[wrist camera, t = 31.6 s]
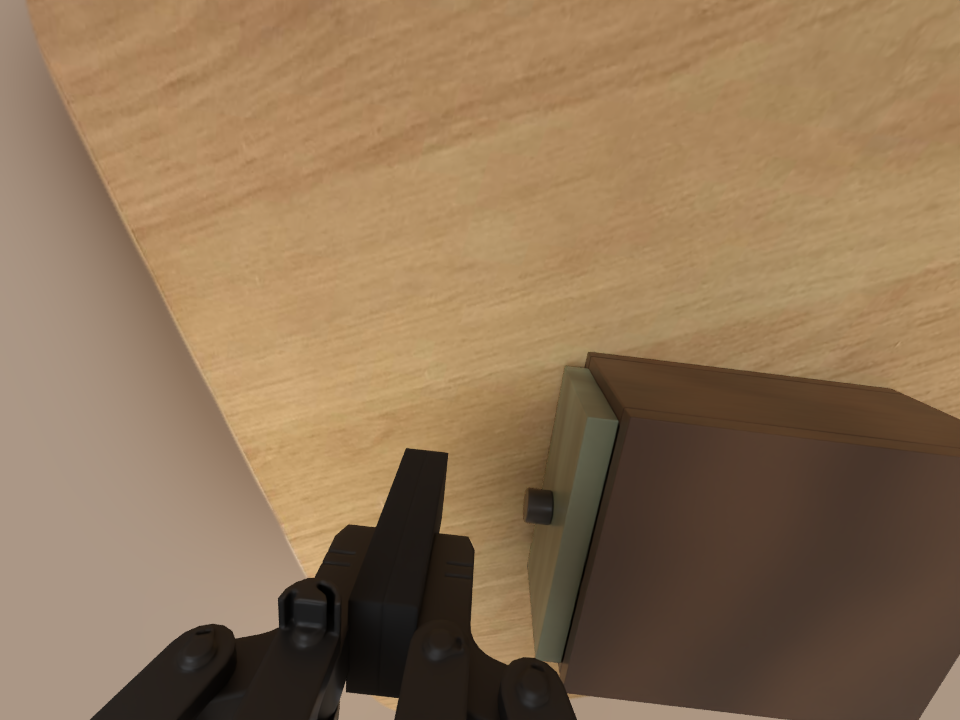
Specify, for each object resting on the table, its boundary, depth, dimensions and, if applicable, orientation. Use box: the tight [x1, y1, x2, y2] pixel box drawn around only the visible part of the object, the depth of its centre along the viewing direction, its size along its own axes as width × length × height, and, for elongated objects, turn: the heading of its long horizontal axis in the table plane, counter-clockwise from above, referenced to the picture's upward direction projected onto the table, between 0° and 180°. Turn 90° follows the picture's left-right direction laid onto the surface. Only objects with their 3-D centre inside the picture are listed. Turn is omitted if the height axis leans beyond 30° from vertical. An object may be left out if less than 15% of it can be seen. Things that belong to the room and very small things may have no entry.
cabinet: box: [558, 352, 960, 720], centre depth 21 cm, size 16×14×8 cm
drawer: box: [523, 366, 620, 663], centre depth 21 cm, size 16×12×6 cm
